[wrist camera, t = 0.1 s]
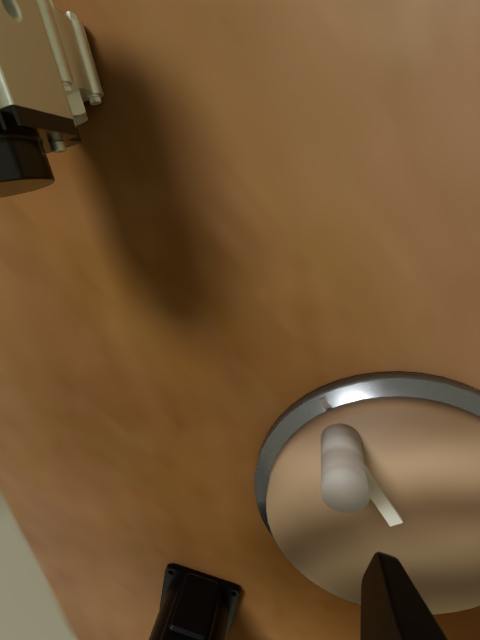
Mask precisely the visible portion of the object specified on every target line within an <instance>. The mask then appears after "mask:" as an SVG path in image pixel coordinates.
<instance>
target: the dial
mask: <svg viewBox="0 0 480 640" xmlns="http://www.w3.org/2000/svg"><path fill="white" fill-rule="evenodd" d="M266 512H267V518H268V523H269V526H270V529H271V533H272V535H273V537H274V539H275V541H276V543H277V545H278V547H279V548H280V550H281V551H282V553H283V554H284V555H285V557H286V558H287V559H288V560H289V561H290V563H291V564H292V565H293V566H294V567H295V568H296V569H297V570H298V571H299V572H301V573H302V574H303V575H304V576H305V577H306V578H308V579H309V580H310V581H312V582H313V583H315V584H316V585H317V586H319V587H321V588H323V589H324V590H326V591H328V592H329V593H331V594H333V595H336V596H338V597H340V598H342V599H344V600H347V601H349V602H352V603H355V604H357V605H361V583H362V578H363V575H364V573H365V571H366V569H367V567H368V565H369V563H370V561H371V559H372V557H373V555H374V554H375V553H376V552H383V553H386V554H389V555H392V556H394V557H396V558H397V559H398V560H399V561H400V562H401V564H402V566H403V567H404V569H405V571H406V572H407V574H408V575H409V577H410V579H411V580H412V582H413V584H414V585H415V587H416V589H417V590H418V592H419V593H420V595H421V597H422V598H423V600H424V602H425V603H426V605H427V606H428V608H429V610H430V611H431V613H432V614H445V613H452V612H458V611H463V610H467V609H471V608H475V607H478V606H480V416H478V415H476V414H474V413H471V412H469V411H467V410H465V409H462V408H460V407H456V406H453V405H450V404H447V403H444V402H440V401H435V400H429V399H424V398H416V397H404V396H392V397H376V398H368V399H362V400H358V401H353V402H349V403H345V404H343V405H340V406H337V407H334V408H332V409H329V410H327V411H325V412H323V413H321V414H319V415H317V416H315V417H314V418H312V419H311V420H309V421H308V422H306V423H305V424H303V425H302V426H301V427H300V428H299V429H297V430H296V431H295V432H294V433H293V434H292V435H291V436H290V437H289V438H288V440H287V441H286V442H285V443H284V445H283V446H282V447H281V449H280V451H279V453H278V454H277V456H276V458H275V461H274V463H273V466H272V469H271V474H270V479H269V485H268V491H267V497H266Z"/></svg>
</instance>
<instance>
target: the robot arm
mask: <svg viewBox="0 0 480 640" xmlns="http://www.w3.org/2000/svg"><path fill="white" fill-rule="evenodd" d="M239 595H240V588H239V587H238V586H237V585H234V584H231V583H228V582H225V581H222V580H219V579H216V578H213V577H210V576H207V575H204V574H201V573H198V572H195V571H192V570H189V569H186V568H183V567H180V566H177V565H174V564H168V565H167V568H166V570H165V576H164V583H163V590H162V596H161V603H160V611H159V614H158V616H157V619H156V622H155V624H154V627H153V630H152V632H151V635H150V638H149V640H224V637H225V636H228V634H229V631H230V627H231V624H232V620H233V617H234V613H235V610H236V606H237V602H238V599H239ZM361 640H448V639H447V638H446V636H445V634H444V633H443V631H442V629H441V628H440V626H439V624H438V623H437V621H436V620H435V618H434V616H433V615H432V613H431V611H430V610H429V608H428V606H427V605H426V603H425V602H424V600H423V598H422V597H421V595H420V593H419V592H418V590H417V589H416V587H415V585H414V584H413V582H412V580H411V579H410V577H409V575H408V574H407V572H406V571H405V569H404V567H403V566H402V564H401V562H400V561H399V560H398V559H397V558H396V557H394V556H392V555H389V554H386V553H383V552H376V553H375V554H374V555H373V557H372V559H371V561H370V563H369V565H368V567H367V569H366V571H365V573H364V575H363V578H362V583H361Z"/></svg>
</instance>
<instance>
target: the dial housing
mask: <svg viewBox="0 0 480 640" xmlns="http://www.w3.org/2000/svg"><path fill="white" fill-rule="evenodd" d="M392 396H404V397H416V398H424V399H429V400H435V401H440V402H444V403H447V404H450V405H453V406H456V407H460V408H462V409H465V410H467V411H469V412H471V413H474V414H476V415H478V416H480V390H478V389H475V388H473V387H471V386H469V385H466V384H464V383H461V382H458V381H455V380H451V379H448V378H445V377H441V376H435V375H430V374H425V373H417V372H403V371H390V372H374V373H367V374H360V375H355V376H351V377H347V378H344V379H340V380H337V381H334V382H332V383H329V384H327V385H324V386H321V387H319V388H317V389H316V390H314V391H312V392H310V393H308V394H306V395H305V396H303V397H302V398H300V399H299V400H298V401H296V402H295V403H294V404H292V405H291V406H290V407H289V408H288V409H287V410H286V411H285V412H284V413H283V414H282V415H281V416H279V418H278V419H277V420H276V422H275V423H274V424H273V426H272V427H271V428H270V430H269V432H268V434H267V436H266V437H265V439H264V441H263V444H262V447H261V450H260V453H259V457H258V461H257V467H256V473H255V495H256V501H257V505H258V508H259V511H260V514H261V517H262V519H263V521H264V523H265V525H266V527H267V529H268V531H269V532H270V533H271V529H270V526H269V523H268V518H267V512H266V497H267V491H268V485H269V479H270V474H271V469H272V466H273V463H274V461H275V458H276V456H277V454H278V453H279V451H280V449H281V447H282V446H283V445H284V443H285V442H286V441H287V440H288V438H289V437H290V436H291V435H292V434H293V433H294V432H295V431H296V430H297V429H299V428H300V427H301V426H302V425H303V424H305V423H306V422H308V421H309V420H311V419H312V418H314V417H315V416H317V415H319V414H321V413H323V412H325V411H327V410H329V409H332V408H334V407H337V406H340V405H343V404H345V403H349V402H353V401H358V400H362V399H368V398H376V397H392ZM271 535H272V533H271ZM272 536H273V535H272ZM273 538H274V537H273Z"/></svg>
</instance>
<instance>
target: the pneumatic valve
mask: <svg viewBox="0 0 480 640" xmlns="http://www.w3.org/2000/svg"><path fill="white" fill-rule="evenodd" d="M103 96H104V94H103V91H102V87H101V84H100V80H99V77H98V73H97V70H96V66H95V63H94V59H93V56H92V53H91V49H90V46H89V42H88V39H87V35H86V32H85V28H84V25H83V23H82V22H81V21H78V20H77V17H76V14H74V13H73V12H71V11H67V12H66V14H64V13H63V12H61V11H59V10H57V9H55V8H54V6H53V3H52V0H0V198H1V197H7V196H12V195H17V194H22V193H26V192H30V191H34V190H37V189H41V188H44V187H46V186H49V185H51V184H52V183H54V181H55V178H54V175H53V173H52V170H51V167H50V164H49V161H48V158H47V155H46V153H50V152H53V153H62V152H65V151H66V147H70V146H73V145H77V144H80V143H82V142H81V139H80V136H79V133H78V130H77V125H80V124H82V123H85V122H86V121H87V120H88V117H87V114H86V111H85V107H84V104H83V102H85V101H87V100H89V101H90V105H99V104H101V98H102V97H103Z"/></svg>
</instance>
